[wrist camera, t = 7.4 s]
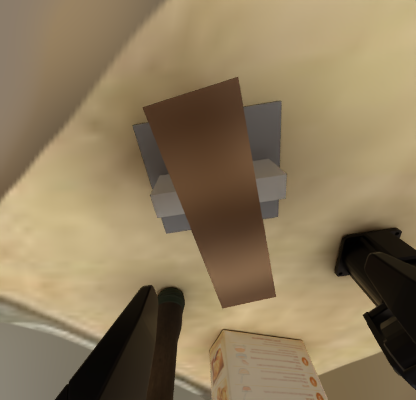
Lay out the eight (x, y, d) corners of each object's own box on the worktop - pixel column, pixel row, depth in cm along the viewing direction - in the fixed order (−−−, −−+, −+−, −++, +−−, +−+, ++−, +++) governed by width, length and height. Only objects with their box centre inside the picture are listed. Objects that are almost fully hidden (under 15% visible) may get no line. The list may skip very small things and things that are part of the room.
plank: (260, 256, 18) (275, 296, 14) (217, 266, 18) (222, 308, 14) (224, 83, 11) (238, 76, 8) (159, 104, 11) (142, 107, 8)
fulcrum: (276, 214, 21) (294, 241, 17) (166, 230, 21) (159, 261, 17) (279, 100, 16) (306, 102, 12) (134, 124, 16) (113, 133, 12)
